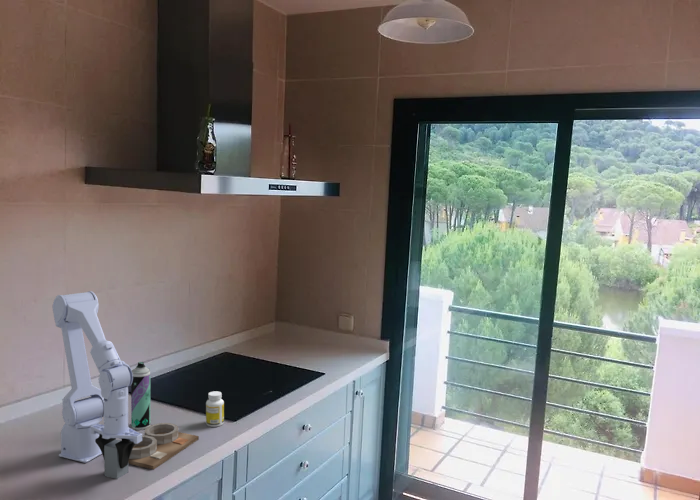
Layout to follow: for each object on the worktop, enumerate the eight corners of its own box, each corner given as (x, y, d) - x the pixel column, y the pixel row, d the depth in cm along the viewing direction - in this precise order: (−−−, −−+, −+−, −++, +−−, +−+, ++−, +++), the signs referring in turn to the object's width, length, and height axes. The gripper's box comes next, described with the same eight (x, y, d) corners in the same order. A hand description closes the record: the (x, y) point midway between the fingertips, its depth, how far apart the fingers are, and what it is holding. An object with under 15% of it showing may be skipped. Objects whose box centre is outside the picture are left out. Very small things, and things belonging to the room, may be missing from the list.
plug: (104, 475, 147) (104, 445, 146) (115, 468, 151) (115, 439, 150) (117, 479, 146) (117, 448, 145) (128, 472, 150) (128, 442, 149)
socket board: (110, 459, 156) (110, 446, 156) (158, 431, 175) (158, 419, 174) (153, 469, 151) (153, 456, 151) (198, 439, 170) (198, 427, 170)
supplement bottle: (216, 418, 185) (216, 389, 184) (227, 423, 182) (227, 393, 181) (202, 423, 181) (202, 393, 180) (213, 428, 178) (213, 397, 177)
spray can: (130, 424, 179) (130, 360, 177) (149, 421, 181) (149, 359, 179) (131, 431, 174) (131, 366, 172) (151, 428, 176) (151, 364, 174)
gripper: (81, 414, 145) (82, 466, 147) (128, 424, 141) (128, 477, 142) (102, 404, 152) (102, 454, 154) (147, 413, 147) (147, 465, 149)
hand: (116, 464), depth 148 cm, fingers closed on plug, 4 cm apart
